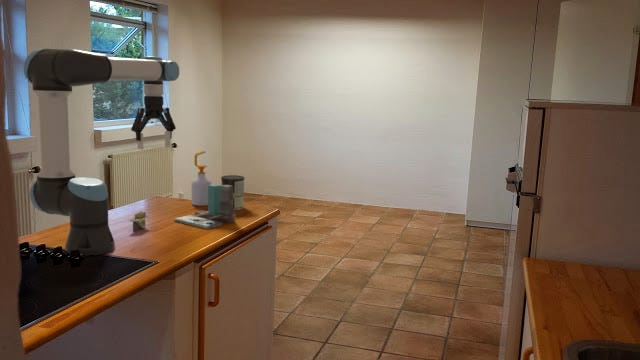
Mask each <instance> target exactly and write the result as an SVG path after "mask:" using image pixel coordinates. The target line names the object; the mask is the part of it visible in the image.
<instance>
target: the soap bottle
mask: <svg viewBox="0 0 640 360" xmlns="http://www.w3.org/2000/svg"><path fill="white" fill-rule="evenodd" d="M202 154H206V151H205V150H202V151H199V152H196V153H195V154H194V166H195V167H196V168H198V170H199V171H198V172H197V177H196V178H194V179H193V180H192V182H191V205H193V206H197V207H204V206H208V185H213V184H212V181H211V180H210V179H209V178H207V177H206V171H204V170H205V169H206V168H208V166H207V165H205V164H203V165H199V164H198V160H197V159H198V156H200V155H202Z"/></svg>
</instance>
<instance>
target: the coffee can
mask: <svg viewBox="0 0 640 360" xmlns="http://www.w3.org/2000/svg"><path fill="white" fill-rule="evenodd" d="M220 179H221V183H220V184H221V186H222V185H232V186H233V211H240V210H243V209H244V208H245V206H244V205H245V176H243V175H233V174H232V175H228V174H227V175H222V176H221V178H220Z"/></svg>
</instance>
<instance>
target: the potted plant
mask: <svg viewBox="0 0 640 360" xmlns="http://www.w3.org/2000/svg"><path fill="white" fill-rule="evenodd" d="M149 217H150V215H148V214H147V213H146V211H140V212H138V213H135V214H134V217H132V218H130V219H129V222H131V223H132V232H136V231H137V230H140V229H142V228H143V229H145V228H146V219H147V218H149Z"/></svg>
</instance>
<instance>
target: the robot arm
mask: <svg viewBox="0 0 640 360" xmlns="http://www.w3.org/2000/svg"><path fill="white" fill-rule="evenodd" d="M23 74H24V76H25V79H27V81H28V82H29V83H30V84H32V92H33V93H34V94H35V95H36V96H37V98H38V100H37V101H38V118H39V119H38V120H39V138H40V139H39V141H40V158H41V159H40V163H41V170H40V171H39V172H38V173H37V174H36V180H34V182H33V183H32V186H31V187H30V190H29V197H30V198H29V199H30V201H31V203H32V206H33V207H34V208H35V209H37V211H38V212H39V211H40V212H42V213H46V214H47V215H57V216H64V217H69V231H68V234H67V238H66V243H65V244H64V245H65V246H64V247H65V248H64V249H65V250H64V251H67V252H70V251H73V250H77V249H79V251H80V254H82V255H85V256H84V257H90V256H89V255H94V256H99V255H105V254H108V253H110V252H112V251H114V250H115V248H116V246H115V245H116V243H115V239H114V237H113V233H112V231H111V229H110V227H109V226H110V225H109V194H108V193H109V192H108V186H107V184H106V183H105V182H104V180H102V179H98V178H94V177H84V176H83V177H76V173H75V172H74V171H73V170H72V169H71V161H70V159H71V158H70V156H71V155H70V136H69V135H70V134H69V133H70V132H69V110H68V109H69V108H68V105H69V104H68V97H69V96H70V95H71V94H72V92H73V87H81V86H82V87H83V86H88V85H90V86H91V85H97V84H99V85H100V84H102V85H103V84H106V83H108V82H109V81H113V82H114V81H118V82H119V81H126V82H127V81H135V82H138V81H140V82H141V81H142V82H143V94H144V96H143V105H144V107H138V108H137V114H136V116H135V119H134V121H133V124H132V126H131V128H130V130H131V132H134V133H135V140H136V141H137V149H138V150H144V132H142V131H143V130H144V129H145V128H146V126H147V124H148V122H149V121H150V120H152V119H153V120H155V119H156V120H159V122H160V123H161V124H162V126H163V128H164V129H165V131H164V147H165V148H166V147H167V148H171V145H172V144H171V143H172V142H171V139H172V135H173V134H172V132H174V130H176V129H177V127H176V124H175V123H174V120H173V118H172V115H171V113H170V108H169V107H166V106H165V107H163V105H164V96H163V95H164V82H174V81H176V80H177V79H179V77H180V66H179V65H178V62H176V61H175V60H163V58H162V57H160V56H152V55H151V56H149V55H147V56H143V59H142V58H141V59H140V58H126V57H125V58H124V57H111V56H110V57H109V56H107V54H104V53H98V52H97V53H96V52H90V51H84V50H80V49H73V48H66V49H65V48H63V49H61V48H43V49H36V50H34V51H31V53H30V54H29V55H27V57H26V58H25V60H24V63H23Z"/></svg>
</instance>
